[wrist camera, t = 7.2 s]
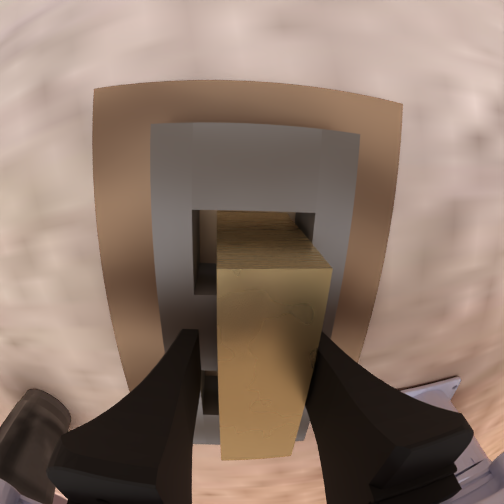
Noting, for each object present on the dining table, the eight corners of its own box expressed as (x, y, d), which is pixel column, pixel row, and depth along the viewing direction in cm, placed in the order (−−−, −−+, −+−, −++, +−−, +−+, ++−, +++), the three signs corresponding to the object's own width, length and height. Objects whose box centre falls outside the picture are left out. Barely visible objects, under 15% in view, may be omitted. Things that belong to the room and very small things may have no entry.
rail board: (335, 407, 20) (350, 448, 16) (141, 409, 19) (131, 453, 15) (392, 104, 13) (440, 100, 9) (102, 91, 12) (62, 79, 8)
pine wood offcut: (270, 369, 17) (290, 455, 11) (217, 371, 16) (221, 460, 11) (285, 212, 14) (332, 268, 8) (217, 211, 13) (216, 268, 8)
